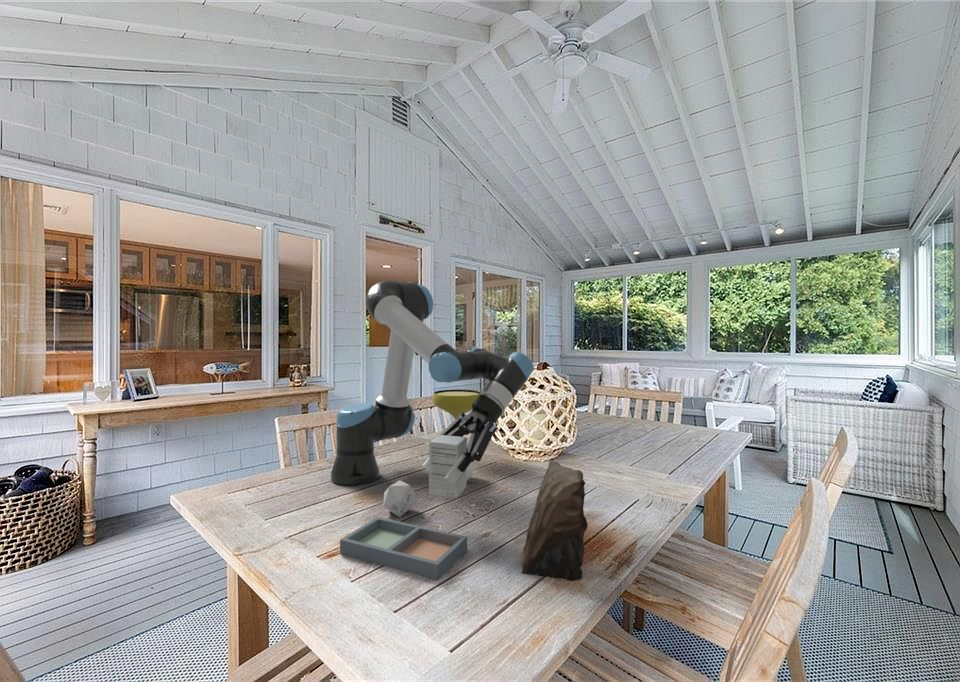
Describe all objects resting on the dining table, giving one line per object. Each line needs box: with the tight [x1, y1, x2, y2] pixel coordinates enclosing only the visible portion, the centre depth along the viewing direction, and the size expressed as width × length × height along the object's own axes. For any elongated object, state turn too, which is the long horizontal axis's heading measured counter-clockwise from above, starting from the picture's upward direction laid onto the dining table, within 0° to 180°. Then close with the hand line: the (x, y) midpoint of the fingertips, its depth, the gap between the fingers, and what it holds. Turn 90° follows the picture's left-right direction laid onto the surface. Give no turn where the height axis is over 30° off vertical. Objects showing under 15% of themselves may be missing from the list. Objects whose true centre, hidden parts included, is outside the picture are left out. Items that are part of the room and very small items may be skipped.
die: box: [383, 479, 417, 518], centre depth 117 cm, size 8×9×10 cm
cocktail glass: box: [432, 389, 482, 421], centre depth 166 cm, size 18×18×25 cm
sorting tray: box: [339, 516, 468, 581], centre depth 96 cm, size 24×13×3 cm, turn 66°
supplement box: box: [428, 434, 468, 498], centre depth 107 cm, size 7×7×13 cm
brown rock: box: [521, 460, 589, 582], centre depth 91 cm, size 13×13×20 cm
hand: (437, 474), depth 106 cm, fingers closed on supplement box, 10 cm apart
